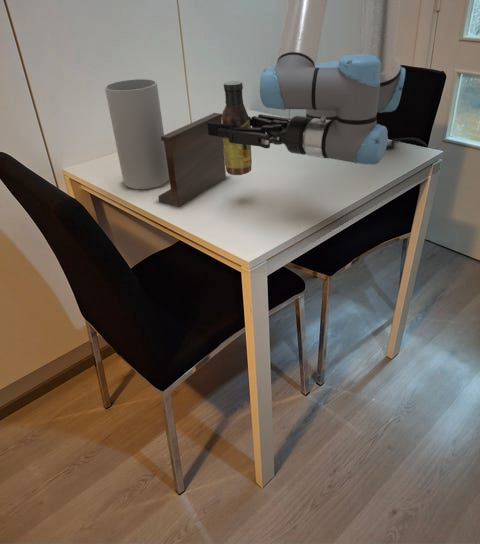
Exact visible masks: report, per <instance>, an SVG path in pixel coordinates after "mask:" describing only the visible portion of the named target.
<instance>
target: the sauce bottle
mask: <svg viewBox="0 0 480 544" xmlns="http://www.w3.org/2000/svg"><path fill="white" fill-rule="evenodd" d="M243 88H244V85H243V82H242V81H240V80H231V81H226V82H223V90H224V95H225V96H224V97H225V101H224V102H225V107H224V109H223V110H222V113H221V114H222V124H228V125H230V124H234V127H249V128H250V119H249V117H250V116H249V114H248V112H247V109H246V107H245V104H244V99H243ZM223 145H224V158H225V171H226V174H229V175H231V176H242V175H247V174H248V173H250V172H251V171H252V163H253V162H252V161H253V159H252V158H253V157H252V145H244V144H235V143H229V138H225V137H223Z"/></svg>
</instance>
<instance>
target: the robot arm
mask: <svg viewBox="0 0 480 544" xmlns="http://www.w3.org/2000/svg"><path fill="white" fill-rule="evenodd" d="M401 2H402V0H362V13H361V14H362V17H361V18H362V19H361V25H362V26H361V54H360V53H358V54H348V55H344V56H342V57H340V58H339V60H335V61H327V62H323V63H319V64H317V59H318V53H319V49H320V42H321V37H322V31H323V26H324V19H325V14H326V9H327V3H328V0H288V5H287V8H286V9H287V10H286V14H285V20H284V24H283V29H282V35H281V39H280V45H279V49H278V53H277V54H278V55H277V60H276V65H275V66H271V67H265V68H264V69H263V71H262V73H261V75H260V79H259V97H260V101H261V103H262V105H263V106H264V107H265V108H267V109H274V110H282V111H286V110H305V116H302V115H295V116H293V117H292V118H291V117H282V116H274V115H269V114H262V113H259V114H258V115H257V116H256V115H253V116H249V119H250V128H249V127H234V124H230V125H228V124H220V123H213V122H208V123H207V124H208V135H212V136H219V137H225V138H229V143H235V144H244V145H251V147H252V146H253V147H259V148H262V149H270V148H271V144H273V145H276V146H279V145H284V146H285V147H286V150H287V151H288V152H289V153H291V154H297V155H303V156H304V155H305V156H306V155H307V156H309V157H313V158H320V159H331V160H337V161H343V162H348V163H353V164H360V165H377V164H378V163H380V161H381V160H383V158H384V156H385V153H386V150H387V149H392V148H394V147H395V143H396V142H404V141H414V142H418V143H420V144H421V145H423V146H424V147H425V148H429V145H428V144H427V143H426V142H425V141H424V140H421V139H420V138H416V137H399V138H394V139H392V140H391V143H390V145H388V140H389V136H388V135H389V134H388V133H389V132H388V129H387V127H386V126H385V125H382V124H379V123H377V122H378V120H377V119H378V118H377V115H378V113H379V114H382V113H392V112H394V111H396V110H397V108H398V106H399V104H400V102H401V101H400V100H401V96H402V93H403V87H404V84H405V83H404V82H405V79H406V68H405V67H402V66H401V62H400V59H399V58H398V57H397V56H396V55H397V45H398V33H399V22H400V12H401Z"/></svg>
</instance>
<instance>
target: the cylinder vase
mask: <svg viewBox="0 0 480 544" xmlns="http://www.w3.org/2000/svg"><path fill="white" fill-rule="evenodd" d="M104 90H105V95H106V101H107V105H108V111H109V115H110V116H109V117H110V121H111V125H112V131H113V135H114V141H115V145H116V152H117V156H118V161H119V166H120V167H119V168H120V171H121V176H122V177H121V178H122V181H123V184H124V185H125V186H126V187H128V188H129V189H133V190H150V189H155V188H158V187H161V186H164V185H165V184H167V182H168V181H170V180H169V173H168V166H167V159H166V152H165V145H164V141H162V140H161V136H163V135H165V131H164V125H163V124H164V123H163V118H162V117H163V116H162V110H161V104H160V96H159V89H158V83H157V81H156V80H154V79H149V78H147V79H146V78H136V79H135V78H134V79H124V80H119V81H114V82H111V83H108V84H107V85H104Z"/></svg>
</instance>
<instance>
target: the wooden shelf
mask: <svg viewBox="0 0 480 544" xmlns="http://www.w3.org/2000/svg"><path fill="white" fill-rule="evenodd" d="M208 122H213V123H220V124H222V113H218V112H213V113H210V114H209V115H206V116H203V117H202V118H199V119H197V120H195V121H193V122H191V123H188V124H186V125H184V126H181V127H179V128H177V129H175V130H173V131H170V132H168V133H166V134H164V135H163V136H161V140H162V141H164V145H165V152H166V159H167V166H168V173H169V180H168V181H169V187H170V189H167V191H164V192H163V193H161V194H159V195H158V196H157V197H158V202H159V203H163V204H166V205H170V206H173V207H177V208H180V207H182V206H184V205H185V204H186V203H188V202H190V201H192V200H193V199H194V198H196V197H198V196H199V195H201V194H203V193H205V192H206V191H208V190H209V189H211V188H212V187H214V186H216V185H218V184H219V183H220V182H222V181H223V180H225V179H227V171H226V165H225V157H224V144H223V137H219V136H212V135H208V124H207V123H208Z"/></svg>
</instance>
